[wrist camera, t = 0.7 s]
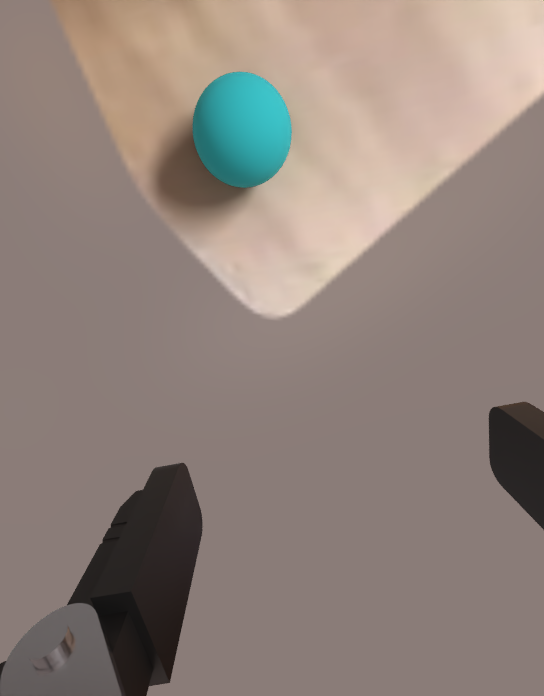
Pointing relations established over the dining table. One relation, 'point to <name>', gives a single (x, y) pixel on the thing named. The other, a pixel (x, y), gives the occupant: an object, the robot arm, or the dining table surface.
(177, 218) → the dining table surface
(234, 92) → the ball
